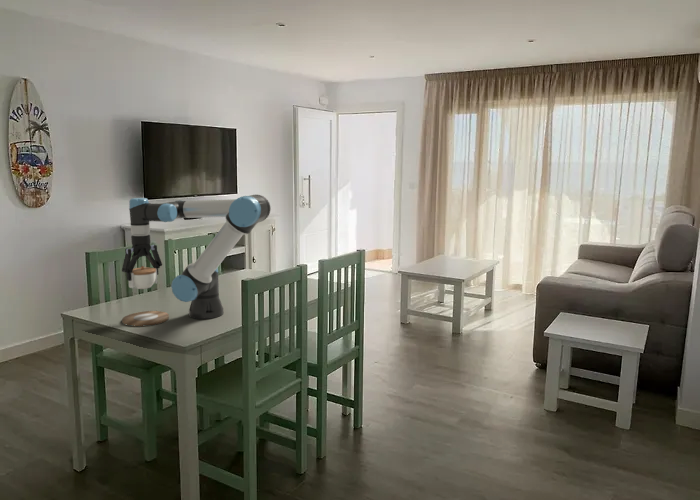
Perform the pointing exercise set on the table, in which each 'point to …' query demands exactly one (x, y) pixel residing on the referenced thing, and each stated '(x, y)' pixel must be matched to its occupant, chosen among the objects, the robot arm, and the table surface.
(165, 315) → the plate
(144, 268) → the lidded jar
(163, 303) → the table surface
